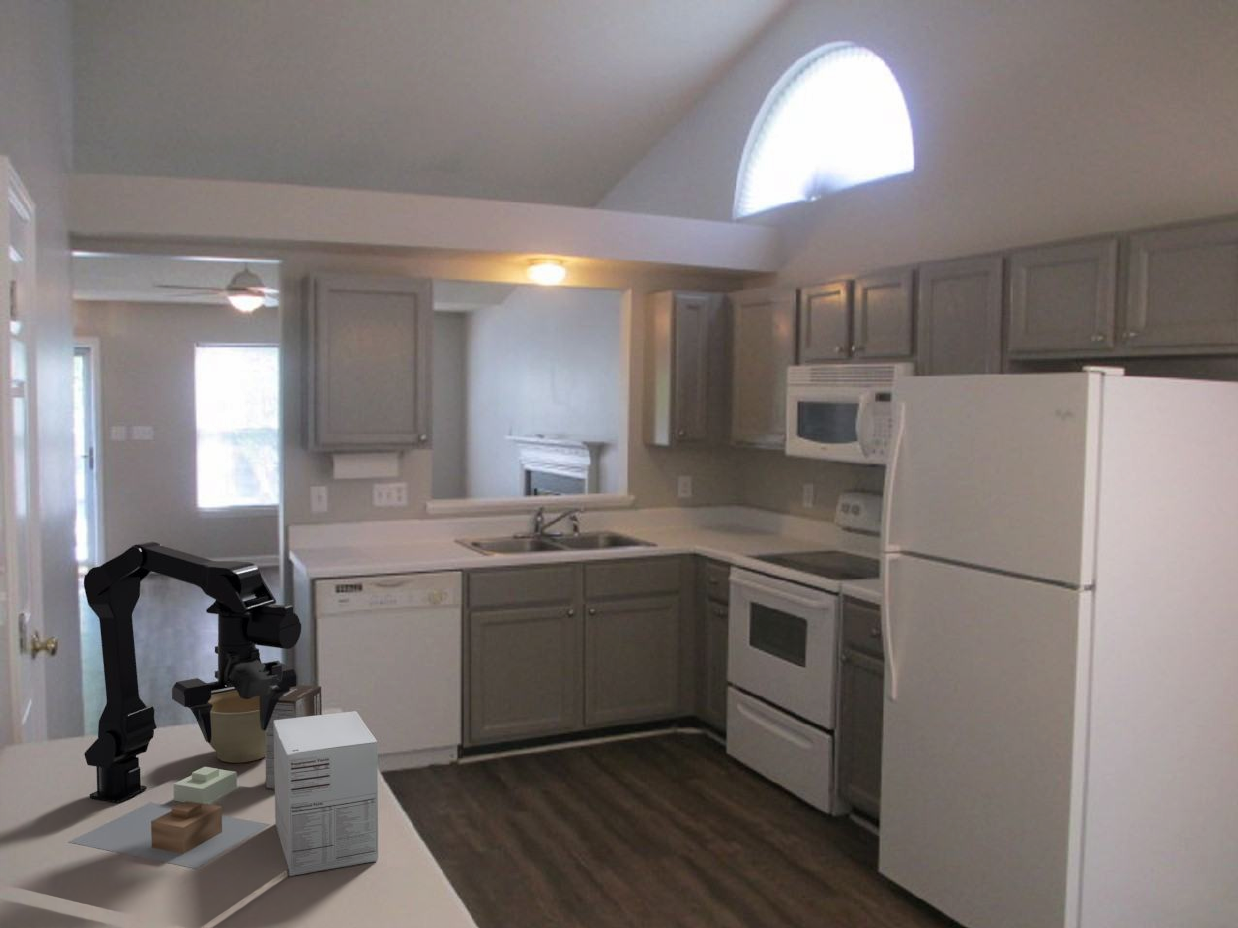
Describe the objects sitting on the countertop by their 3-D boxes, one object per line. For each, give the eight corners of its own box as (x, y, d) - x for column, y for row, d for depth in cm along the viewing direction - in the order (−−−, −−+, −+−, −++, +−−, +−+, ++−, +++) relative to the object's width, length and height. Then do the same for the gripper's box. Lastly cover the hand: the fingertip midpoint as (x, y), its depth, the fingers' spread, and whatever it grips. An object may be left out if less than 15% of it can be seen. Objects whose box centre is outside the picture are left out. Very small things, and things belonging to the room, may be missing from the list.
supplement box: (381, 861, 151) (380, 741, 150) (287, 878, 145) (285, 754, 144) (358, 817, 167) (357, 708, 165) (273, 831, 161) (271, 718, 160)
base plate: (68, 849, 154) (68, 841, 154) (150, 809, 169) (150, 801, 169) (196, 876, 146) (196, 868, 145) (270, 831, 161) (270, 824, 160)
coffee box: (291, 769, 187) (290, 683, 186) (323, 772, 186) (322, 685, 185) (264, 788, 178) (263, 697, 177) (298, 791, 177) (297, 700, 176)
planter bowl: (178, 763, 189) (177, 706, 189) (239, 736, 204) (238, 682, 204) (249, 775, 184) (248, 716, 183) (306, 746, 199) (305, 691, 198)
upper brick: (203, 812, 168) (202, 781, 167) (174, 807, 170) (173, 776, 169) (236, 794, 175) (236, 765, 175) (208, 789, 177) (208, 760, 177)
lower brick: (183, 853, 150) (182, 819, 150) (151, 847, 152) (150, 813, 152) (222, 831, 158) (221, 799, 157) (191, 825, 160) (190, 793, 159)
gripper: (199, 662, 153) (199, 763, 154) (314, 642, 166) (313, 736, 167) (170, 646, 161) (170, 743, 162) (282, 629, 174) (282, 719, 175)
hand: (236, 735), depth 166 cm, fingers open, 9 cm apart
